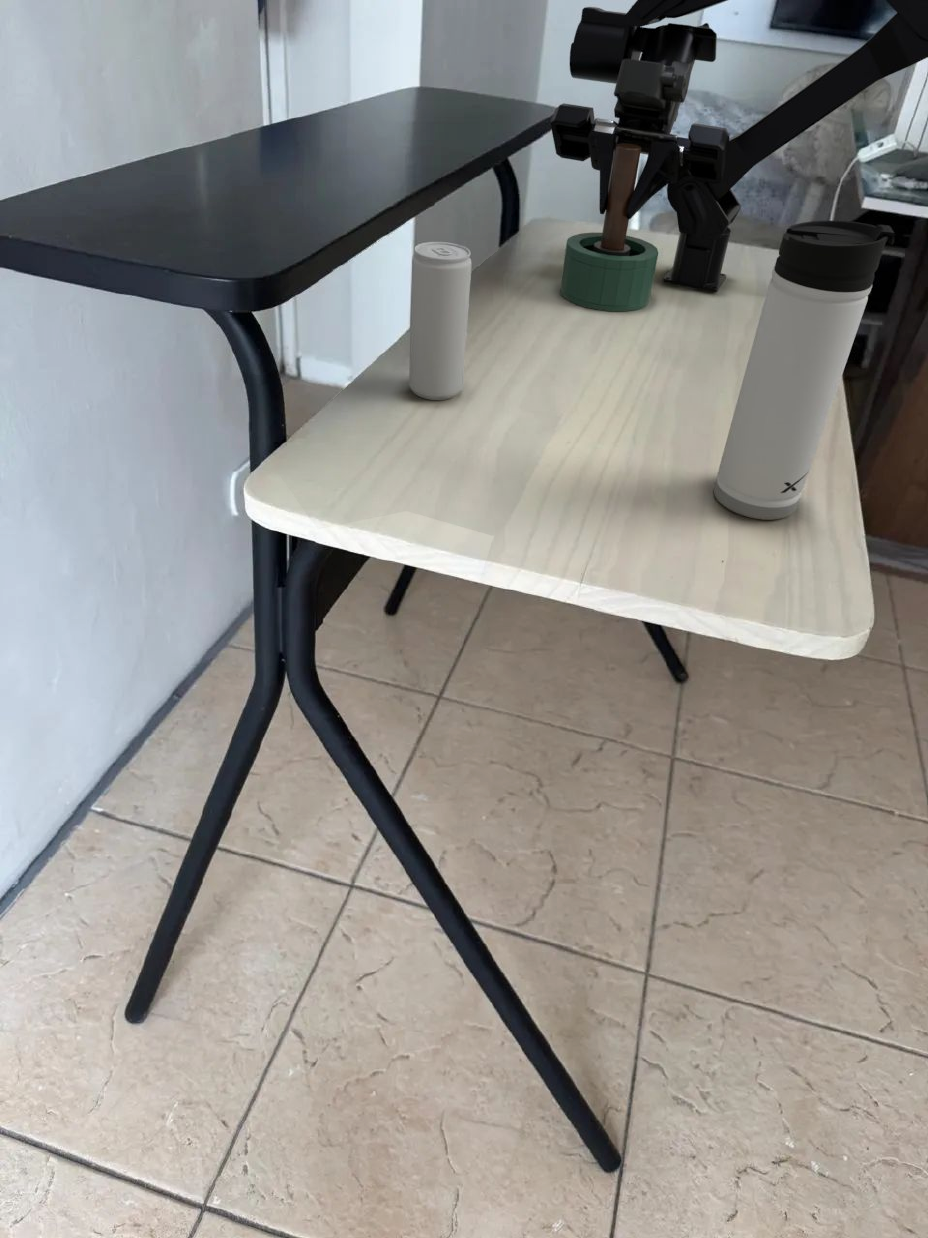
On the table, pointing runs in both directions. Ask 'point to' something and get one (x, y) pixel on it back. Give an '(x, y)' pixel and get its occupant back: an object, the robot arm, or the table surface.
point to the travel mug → (797, 363)
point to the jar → (608, 274)
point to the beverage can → (439, 319)
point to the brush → (619, 201)
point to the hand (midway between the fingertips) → (614, 214)
